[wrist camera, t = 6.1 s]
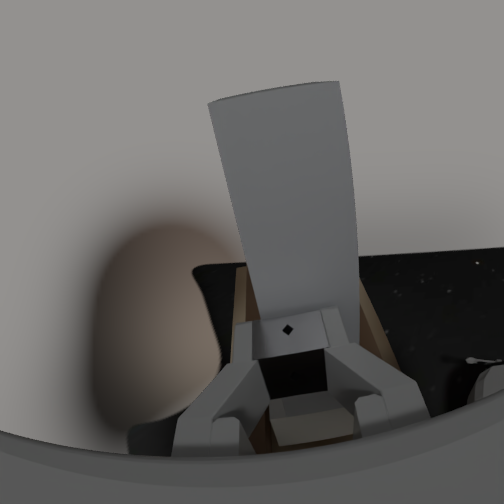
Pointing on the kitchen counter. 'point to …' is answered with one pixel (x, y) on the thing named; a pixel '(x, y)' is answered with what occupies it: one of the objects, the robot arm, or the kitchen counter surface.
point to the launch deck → (368, 339)
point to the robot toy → (487, 379)
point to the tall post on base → (295, 222)
